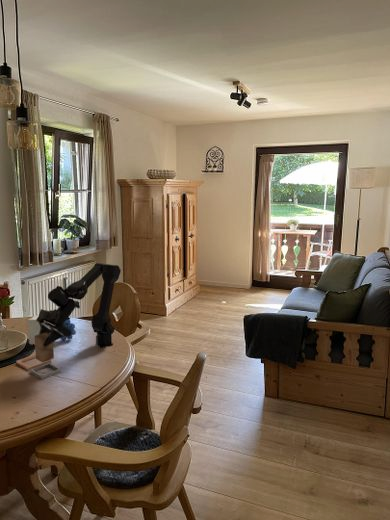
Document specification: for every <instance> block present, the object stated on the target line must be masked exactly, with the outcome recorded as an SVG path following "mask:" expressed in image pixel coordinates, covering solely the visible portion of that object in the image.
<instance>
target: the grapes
mask: <svg viewBox="0 0 390 520" xmlns="http://www.w3.org/2000/svg"><path fill="white" fill-rule="evenodd" d="M64 326H66V327H67V328H69V329H70V330H71V332H72V334H71V335H70V337H66V336H65V335H64V334H63V336H64V337H61V338H59V340H61V341H66V340H72V339H73V336H74V335H76V334H77V331H76V329H75V328H76V325H75V323H74V322H71V319H70V320H66V322H65V323H64ZM51 328H52V327H51ZM52 329H54V328H52Z"/></svg>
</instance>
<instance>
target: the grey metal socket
mask: <svg viewBox="0 0 390 520" xmlns="http://www.w3.org/2000/svg"><path fill="white" fill-rule="evenodd" d="M49 367H50V368H52V369H54V370H52V371H50V372H46V373H45V374H40V373H38V372H37V371H40V370H43V369H46V368H49ZM29 372H30V373H31V374H32V375H34V376H35V377H37V378H39V379H40V380H43V379H45V378H47V377H50V376H53V375H57V374H59V373H61V372H62V368H60V367H58V365H57V366H56V364H52V362H51V363H48V364H45V365H42V366H39V367H36V368H34V369H31V370H29Z"/></svg>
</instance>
